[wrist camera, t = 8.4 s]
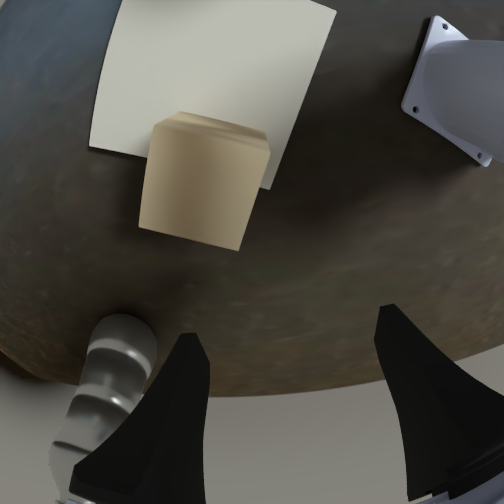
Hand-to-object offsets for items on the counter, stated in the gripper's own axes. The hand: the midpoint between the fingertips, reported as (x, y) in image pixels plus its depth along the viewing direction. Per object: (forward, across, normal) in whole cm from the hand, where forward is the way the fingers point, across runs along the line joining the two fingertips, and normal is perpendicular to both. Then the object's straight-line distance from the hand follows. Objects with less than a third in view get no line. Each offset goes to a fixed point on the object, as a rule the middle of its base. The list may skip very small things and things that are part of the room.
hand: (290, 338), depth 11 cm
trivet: (+10, +3, -10) cm, 15 cm away
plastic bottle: (+11, +15, +9) cm, 20 cm away
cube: (+10, +3, -5) cm, 11 cm away
